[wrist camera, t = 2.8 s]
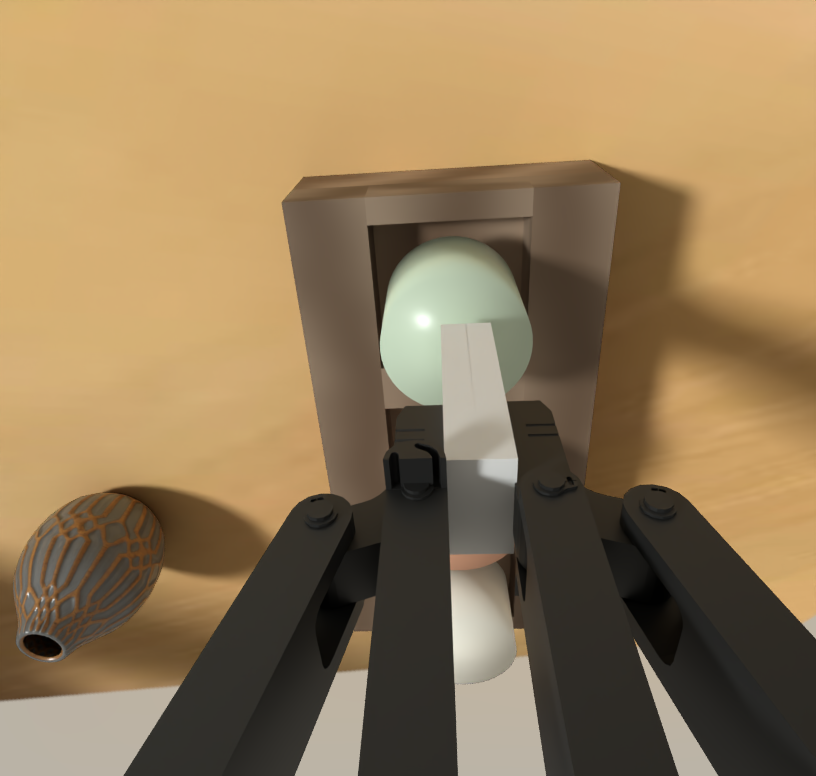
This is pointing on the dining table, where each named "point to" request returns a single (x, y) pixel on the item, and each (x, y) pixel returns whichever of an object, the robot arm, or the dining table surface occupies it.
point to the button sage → (450, 313)
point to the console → (410, 227)
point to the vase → (85, 573)
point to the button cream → (481, 624)
